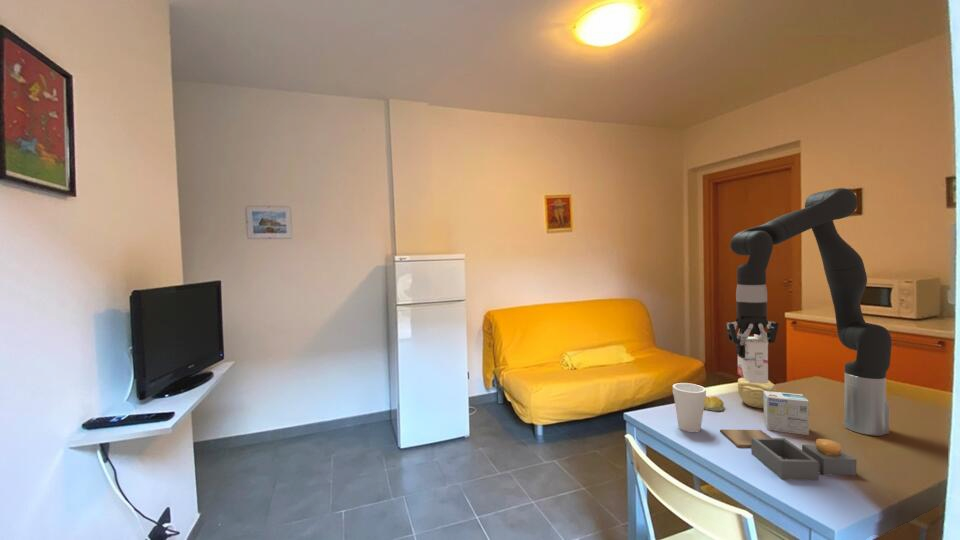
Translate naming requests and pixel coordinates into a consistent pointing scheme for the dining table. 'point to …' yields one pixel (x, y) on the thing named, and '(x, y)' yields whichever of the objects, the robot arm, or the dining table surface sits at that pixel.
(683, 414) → the foam cup
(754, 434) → the walnut pad
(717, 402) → the bread roll
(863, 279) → the robot arm
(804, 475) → the cartridge dock
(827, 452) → the orange dome button
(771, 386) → the sculpture
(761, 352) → the ink cartridge box
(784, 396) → the light bulb box
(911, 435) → the dining table surface
